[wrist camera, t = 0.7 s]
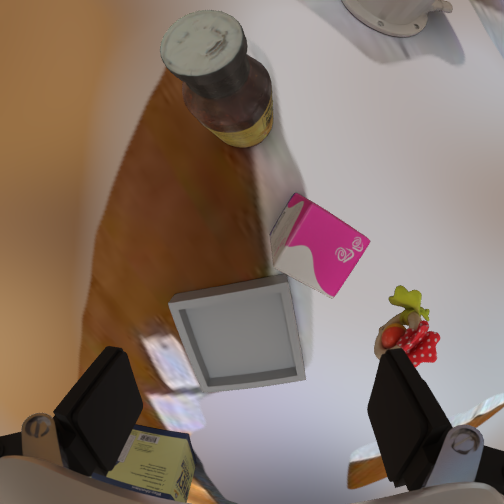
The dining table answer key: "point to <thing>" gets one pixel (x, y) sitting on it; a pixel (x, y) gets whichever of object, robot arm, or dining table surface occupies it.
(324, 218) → the supplement box
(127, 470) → the protein box
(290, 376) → the slate tray
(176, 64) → the sauce bottle
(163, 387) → the dining table surface
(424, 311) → the bird rattle
